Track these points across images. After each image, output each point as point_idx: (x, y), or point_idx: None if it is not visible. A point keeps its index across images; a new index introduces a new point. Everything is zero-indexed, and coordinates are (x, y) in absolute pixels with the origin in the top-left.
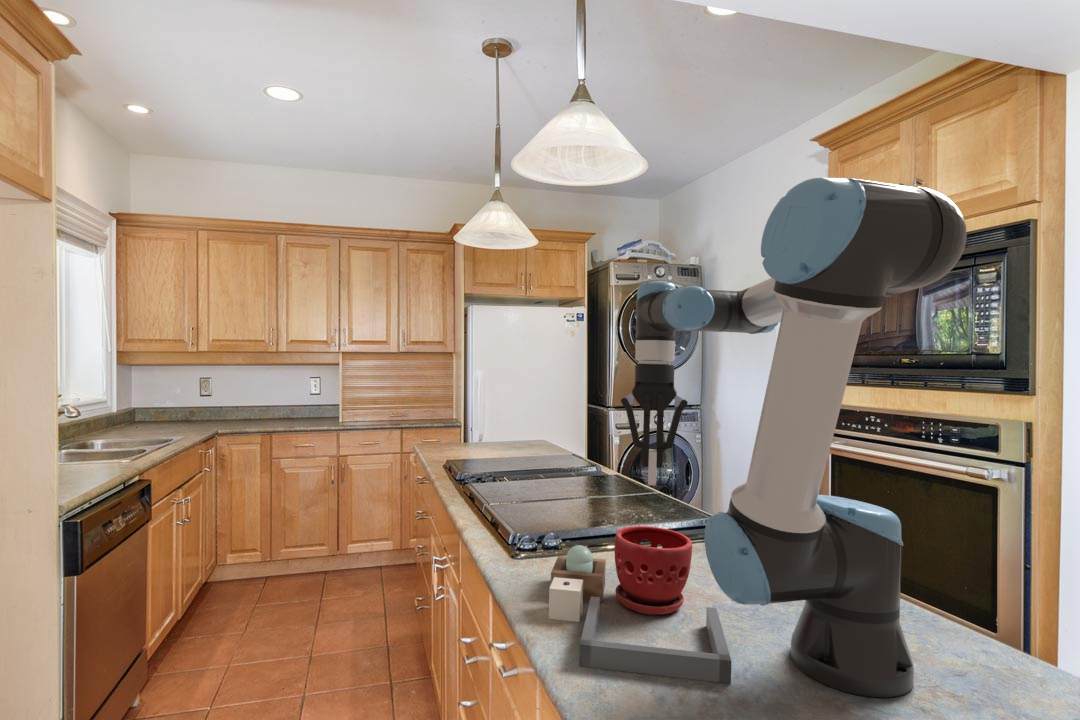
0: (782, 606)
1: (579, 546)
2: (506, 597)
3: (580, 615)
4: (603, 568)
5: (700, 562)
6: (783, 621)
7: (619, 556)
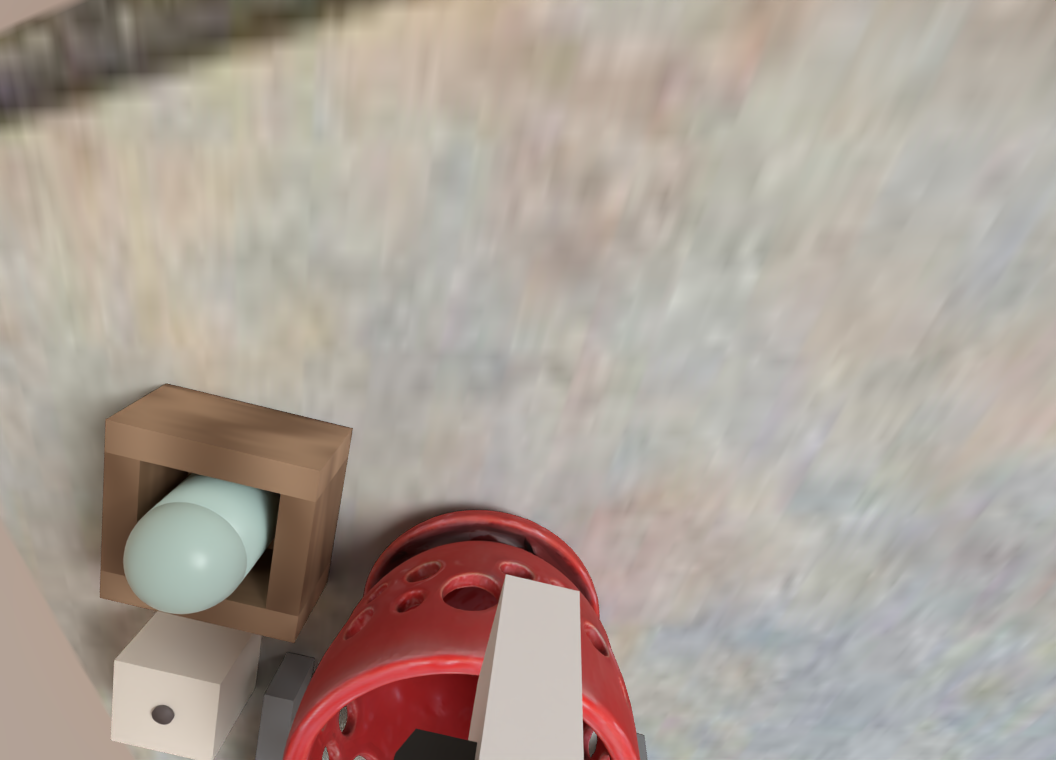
0: (944, 629)
1: (156, 595)
2: (11, 532)
3: (255, 671)
4: (303, 567)
5: (866, 182)
6: (873, 716)
7: (323, 746)
